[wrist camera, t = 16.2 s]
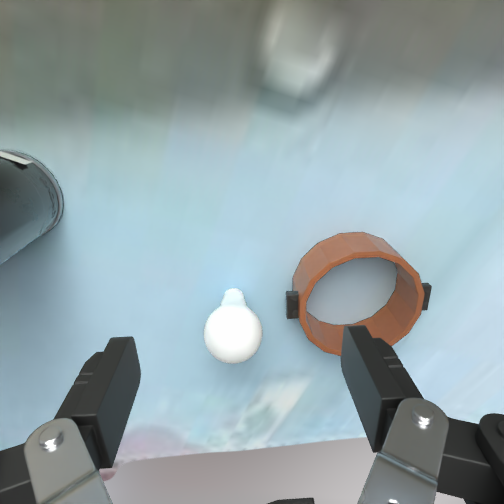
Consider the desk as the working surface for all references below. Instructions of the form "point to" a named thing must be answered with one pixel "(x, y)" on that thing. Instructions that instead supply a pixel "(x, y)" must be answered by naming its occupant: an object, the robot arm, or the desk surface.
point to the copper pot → (380, 324)
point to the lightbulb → (233, 329)
